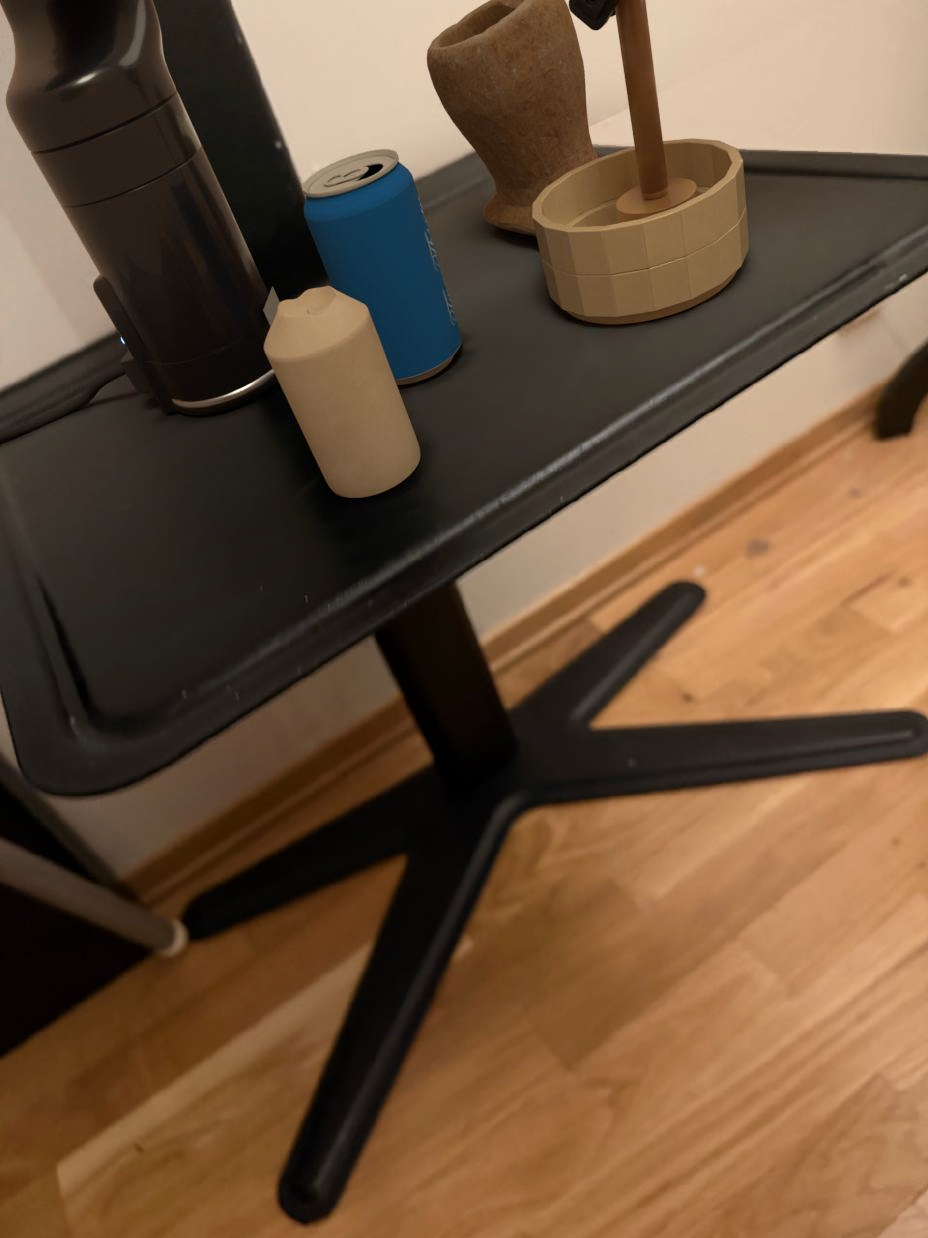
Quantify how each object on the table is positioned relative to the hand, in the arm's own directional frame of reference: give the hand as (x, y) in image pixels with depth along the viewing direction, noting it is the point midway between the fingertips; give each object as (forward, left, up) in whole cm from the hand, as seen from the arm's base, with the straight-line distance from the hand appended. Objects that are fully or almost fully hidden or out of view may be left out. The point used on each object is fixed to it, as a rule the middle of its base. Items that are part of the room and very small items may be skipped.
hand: (591, 10), depth 48 cm
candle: (-15, -17, -15) cm, 27 cm away
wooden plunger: (+2, -1, -12) cm, 13 cm away
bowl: (+1, -1, -15) cm, 15 cm away
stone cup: (-4, +11, -15) cm, 19 cm away
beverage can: (-14, -5, -15) cm, 21 cm away
